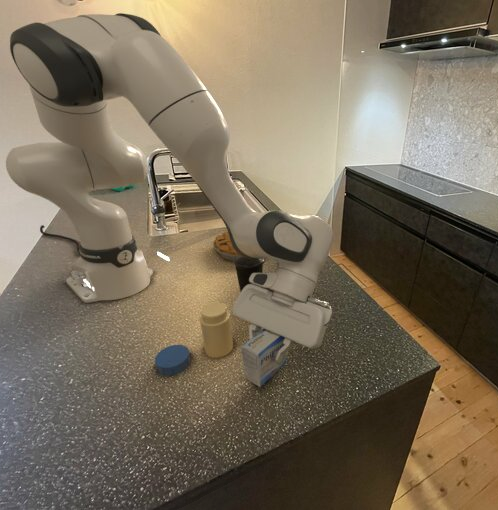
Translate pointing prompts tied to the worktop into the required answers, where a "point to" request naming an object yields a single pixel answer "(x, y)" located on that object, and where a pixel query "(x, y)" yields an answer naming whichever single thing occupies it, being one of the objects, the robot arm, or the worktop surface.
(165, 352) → the lid
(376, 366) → the worktop surface
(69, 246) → the worktop surface
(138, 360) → the worktop surface
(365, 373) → the worktop surface
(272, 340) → the medicine box
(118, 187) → the teal lumpy blob
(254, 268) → the drinking cup
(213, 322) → the jar
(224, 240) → the pie
